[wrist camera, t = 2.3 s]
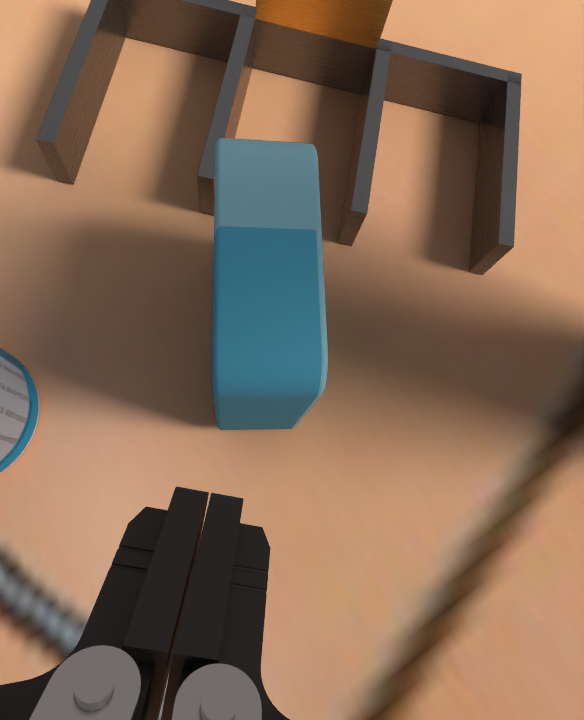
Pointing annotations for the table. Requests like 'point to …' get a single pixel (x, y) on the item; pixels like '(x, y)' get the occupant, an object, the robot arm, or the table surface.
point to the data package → (267, 284)
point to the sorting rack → (310, 63)
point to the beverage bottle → (16, 409)
